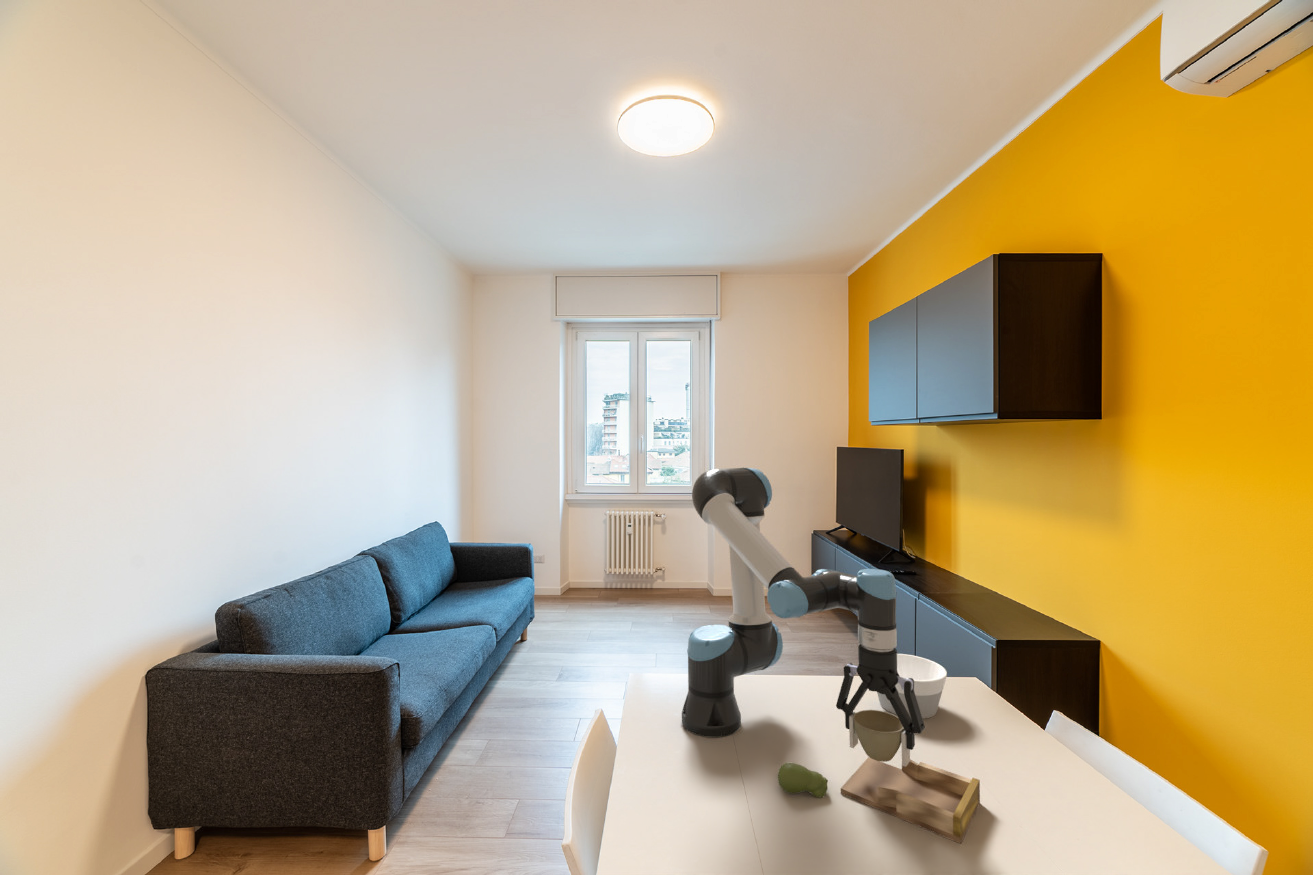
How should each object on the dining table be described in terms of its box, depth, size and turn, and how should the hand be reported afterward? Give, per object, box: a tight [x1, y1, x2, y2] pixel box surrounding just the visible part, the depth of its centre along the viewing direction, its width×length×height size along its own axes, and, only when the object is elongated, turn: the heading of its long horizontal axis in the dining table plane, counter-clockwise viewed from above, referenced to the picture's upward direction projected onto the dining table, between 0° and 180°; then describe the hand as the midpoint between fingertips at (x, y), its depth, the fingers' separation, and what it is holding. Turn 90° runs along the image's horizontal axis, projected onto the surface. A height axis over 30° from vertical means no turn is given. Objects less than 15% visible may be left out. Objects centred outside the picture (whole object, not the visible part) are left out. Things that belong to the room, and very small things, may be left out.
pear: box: [777, 762, 828, 799], centre depth 115 cm, size 6×5×10 cm
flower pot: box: [853, 709, 904, 763], centre depth 116 cm, size 10×10×7 cm
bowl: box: [876, 653, 948, 719], centre depth 152 cm, size 19×19×11 cm
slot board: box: [840, 756, 981, 845], centre depth 112 cm, size 22×15×4 cm
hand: (879, 753), depth 116 cm, fingers closed on flower pot, 10 cm apart
